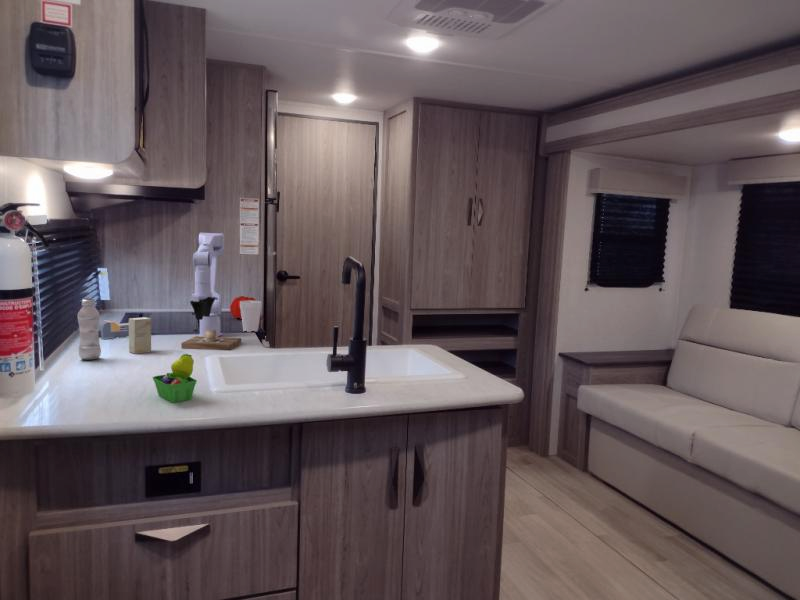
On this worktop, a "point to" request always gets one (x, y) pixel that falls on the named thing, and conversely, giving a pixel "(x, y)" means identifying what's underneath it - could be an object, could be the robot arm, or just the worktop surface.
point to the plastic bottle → (89, 330)
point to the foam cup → (250, 315)
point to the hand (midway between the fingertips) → (203, 317)
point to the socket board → (211, 343)
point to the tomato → (238, 306)
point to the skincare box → (139, 335)
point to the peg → (210, 335)
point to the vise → (112, 330)
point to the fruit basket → (177, 381)
